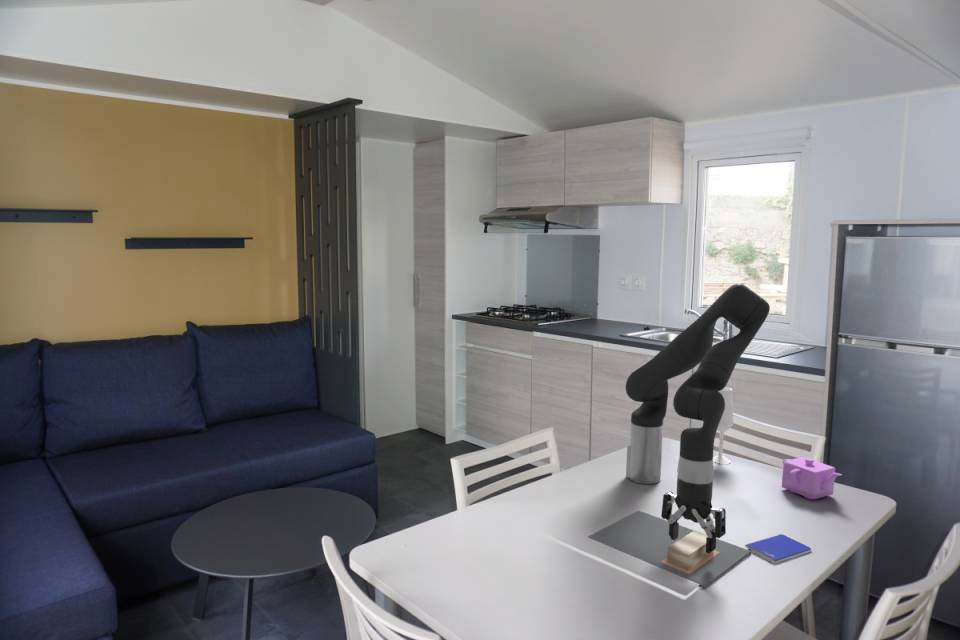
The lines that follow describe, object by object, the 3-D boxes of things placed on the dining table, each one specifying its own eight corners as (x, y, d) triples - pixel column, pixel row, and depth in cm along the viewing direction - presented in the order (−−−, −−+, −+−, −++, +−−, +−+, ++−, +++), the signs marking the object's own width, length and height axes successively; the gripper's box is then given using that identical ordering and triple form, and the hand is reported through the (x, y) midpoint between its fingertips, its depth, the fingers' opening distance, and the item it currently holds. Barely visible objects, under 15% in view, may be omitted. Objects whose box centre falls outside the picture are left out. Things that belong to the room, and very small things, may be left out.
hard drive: (775, 559, 145) (811, 547, 151) (745, 543, 152) (780, 533, 158) (774, 566, 145) (810, 554, 151) (744, 550, 152) (780, 539, 158)
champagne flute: (708, 462, 209) (712, 389, 206) (709, 456, 215) (713, 385, 212) (730, 465, 207) (735, 391, 203) (731, 458, 213) (735, 387, 210)
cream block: (693, 544, 152) (694, 530, 152) (713, 552, 149) (714, 537, 148) (667, 562, 144) (667, 547, 143) (687, 570, 140) (688, 555, 140)
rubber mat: (587, 539, 156) (587, 536, 156) (638, 512, 171) (638, 510, 171) (704, 588, 135) (704, 585, 134) (750, 553, 150) (751, 550, 150)
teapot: (853, 501, 179) (857, 466, 178) (821, 511, 173) (824, 475, 172) (795, 479, 195) (798, 447, 194) (764, 488, 189) (766, 454, 187)
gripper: (734, 480, 141) (729, 551, 143) (674, 463, 151) (671, 529, 154) (717, 489, 136) (713, 562, 138) (657, 471, 146) (654, 539, 148)
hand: (691, 545), depth 146 cm, fingers open, 8 cm apart
